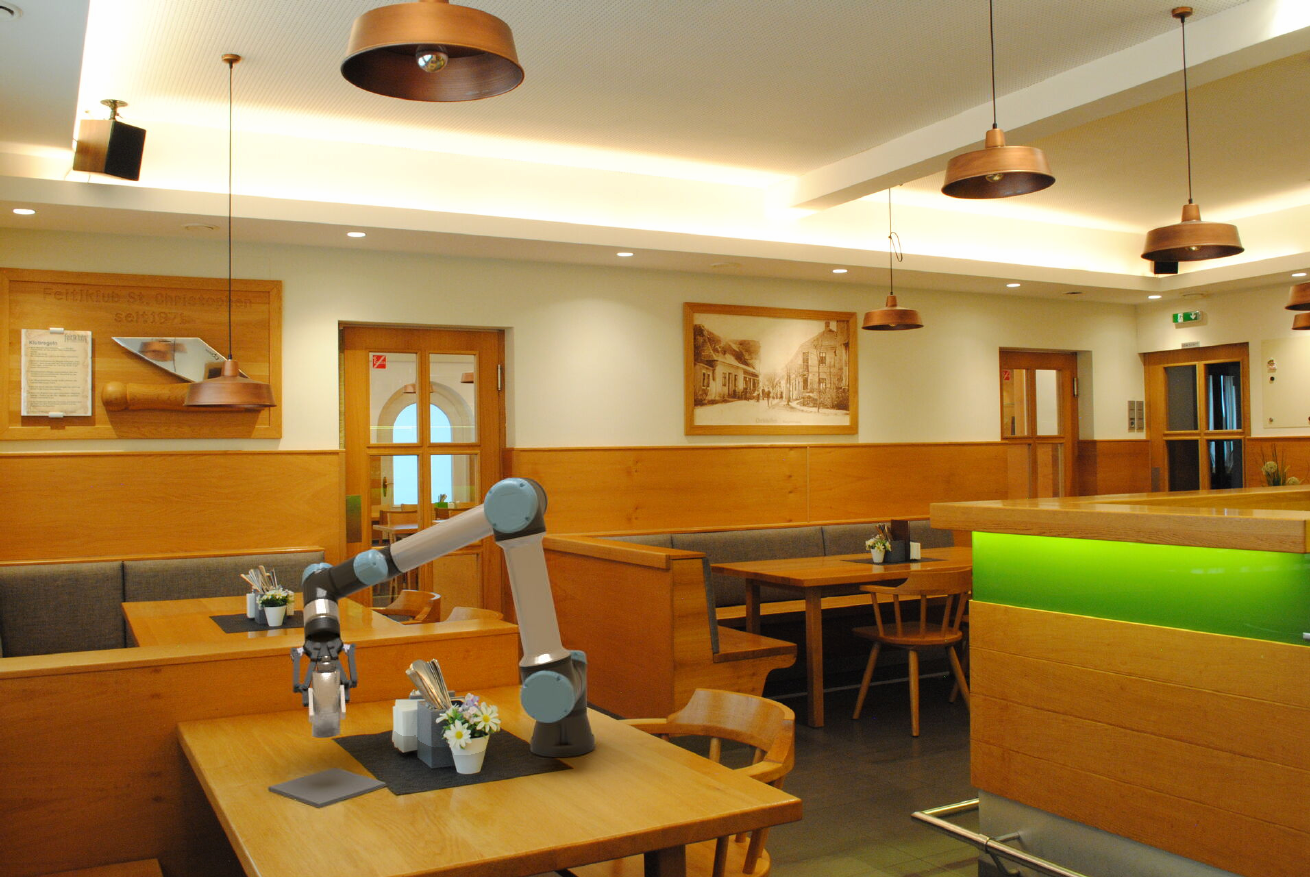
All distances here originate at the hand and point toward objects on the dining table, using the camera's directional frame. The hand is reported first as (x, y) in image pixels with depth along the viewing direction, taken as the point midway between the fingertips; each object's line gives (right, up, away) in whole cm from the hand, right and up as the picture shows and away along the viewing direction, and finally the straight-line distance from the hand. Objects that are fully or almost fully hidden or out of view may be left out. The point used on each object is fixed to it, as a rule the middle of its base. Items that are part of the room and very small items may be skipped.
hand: (327, 717), depth 206 cm
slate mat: (-1, -16, +3) cm, 16 cm away
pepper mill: (-1, -4, +3) cm, 6 cm away
